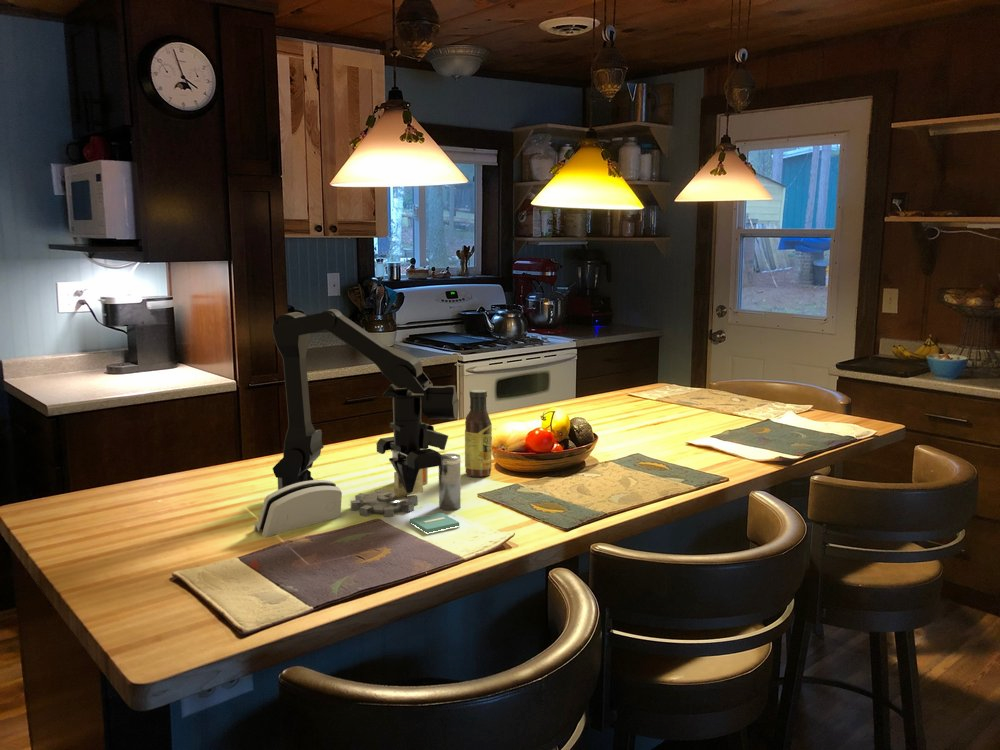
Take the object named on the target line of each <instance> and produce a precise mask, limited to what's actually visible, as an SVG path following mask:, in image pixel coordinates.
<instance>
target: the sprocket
mask: <svg viewBox="0 0 1000 750" xmlns="http://www.w3.org/2000/svg"><path fill="white" fill-rule="evenodd" d="M393 477H394V478H393V480H394V481H393V482H394V483H393V484H394V486H393V487H394V491H385V489H384V488H383V489H375V492H373V493H368V494H367V493H358V494H356V495H355V500H350V501H349V503H350V510H351V511H359V515H360V516H364V517H369V516H371V515H374V514H375V515H383V517H384V518H388V517H389V518H390V517H394V516H395V515H394V514H395V513H400V512H403V513H408V512H409V511H411V512H413V511H414V510H415V506H417V505H418V504H419V503H418V496H417V495H416V494H419V493H423V492H424V484H423V469H419V472H418V475H417V478H416V481H415V485H414V488H413V492H412V493H407V492H406V490H405V488H404V486H403V484H402V482H401V480H400V478H399V476H398V474H397V472H396V471H394V474H393ZM412 510H413V511H412ZM409 513H410V512H409Z"/></svg>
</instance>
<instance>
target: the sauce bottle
mask: <svg viewBox="0 0 1000 750" xmlns="http://www.w3.org/2000/svg"><path fill="white" fill-rule="evenodd" d="M487 397H488V391H487V390H484V389H472V390H469V399H470V401H469V402H470V404H469V409H470V410H469V412H468V413H467V415H466V416H465V422H464V423H465V427H464V428H465V430H464V467H465V474H466V475H467V476H469V477H473V478H474V477H475V478H482V477H486V476H489V475H491V473H492V467H493V466H492V457H493V456H492V448H493V447H492V444H493V443H492V442H493V441H492V436H493V435H492V429H493V427H492V421H491V419H490V416H489V413H488V409H487Z"/></svg>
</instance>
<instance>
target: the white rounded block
mask: <svg viewBox="0 0 1000 750" xmlns="http://www.w3.org/2000/svg"><path fill="white" fill-rule="evenodd" d="M342 494H343V492H342V491H341V489H340V487H339V486H337V485H336V483H335V482H333V481H331V480H327V479H326V480H325V479H313V480H310V481H303V482H299V483H295V484H292V485H289V486H286V487H284V488H281V489H279V490H278V489H277V490H275V491H274V492H271V493H269V494H268V495H266V497H265V498H264V500H263V504H262V506H261V509H260V513H259V517H258V521H256V522H255V523H254V527H253V531H254V532H256V531H258V532H261V531H262V533H261V536H262V537H264V538H269V537H272V536H277V535H278V534H280V533H285V532H287V531H292V530H295V529H300V528H303V527H306V526H311V525H314V524H318V523H321V522H326V521H329V520H333V519H337V518H341V515H342V513H341V512H342V511H341V510H342Z"/></svg>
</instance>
